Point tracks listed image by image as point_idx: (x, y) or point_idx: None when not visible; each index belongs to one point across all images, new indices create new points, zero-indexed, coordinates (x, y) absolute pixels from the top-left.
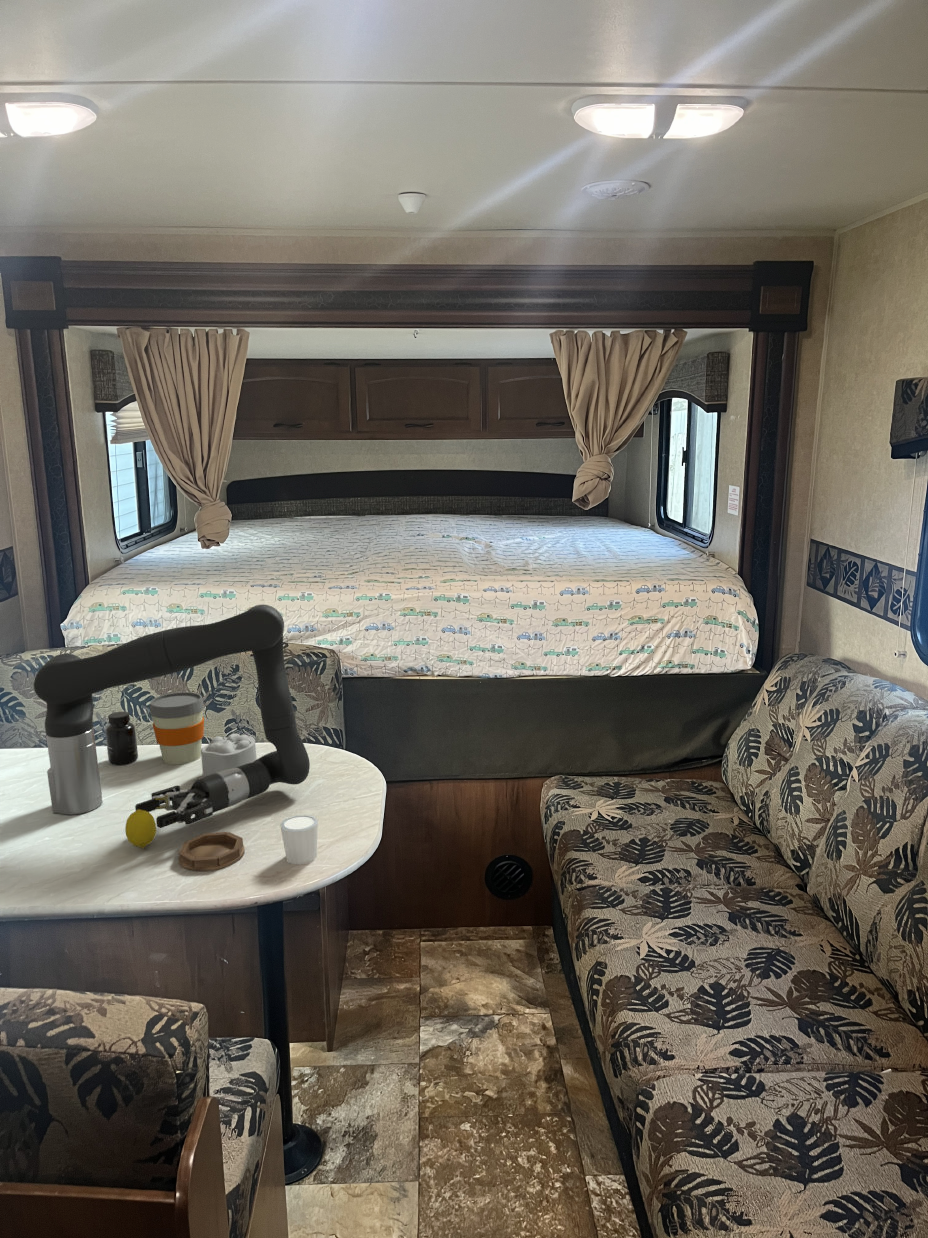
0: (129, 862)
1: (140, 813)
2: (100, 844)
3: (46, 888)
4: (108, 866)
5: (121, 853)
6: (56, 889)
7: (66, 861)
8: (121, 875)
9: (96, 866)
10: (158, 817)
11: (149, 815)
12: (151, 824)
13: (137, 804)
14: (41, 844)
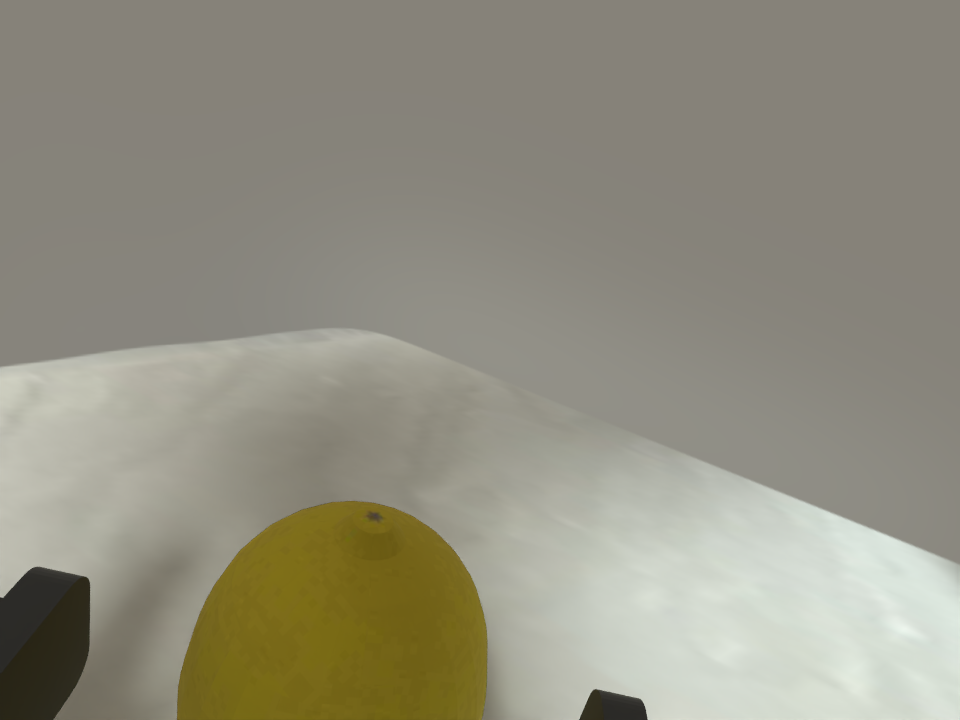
0: None
1: (322, 525)
2: None
3: (393, 397)
4: None
5: None
6: (350, 399)
7: (560, 525)
8: (147, 520)
9: None
10: (50, 570)
11: (256, 614)
12: (193, 656)
13: (626, 699)
14: (835, 582)
